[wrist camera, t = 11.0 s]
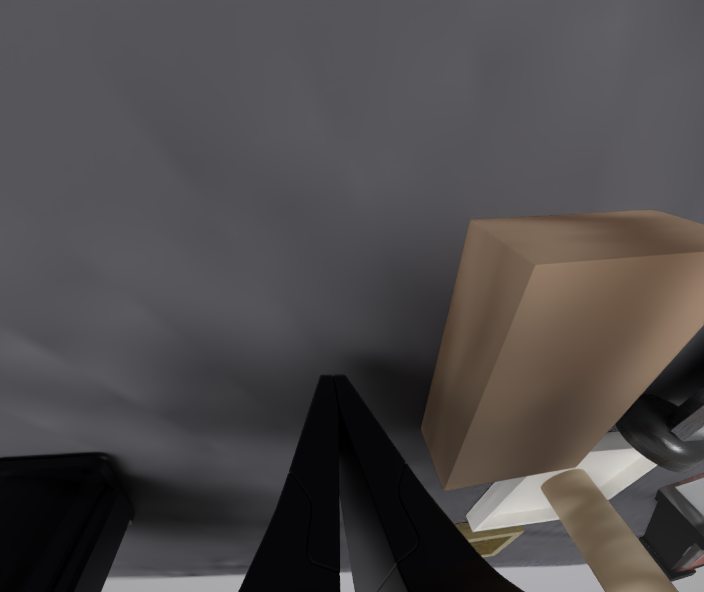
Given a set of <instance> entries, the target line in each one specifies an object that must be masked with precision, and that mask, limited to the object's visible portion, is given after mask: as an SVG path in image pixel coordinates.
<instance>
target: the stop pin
mask: <svg viewBox="0 0 704 592" xmlns="http://www.w3.org/2000/svg"><path fill="white" fill-rule="evenodd" d="M541 490H542V492H543V493H544V495H545V496H546V498H547V500H548V501H549V503H550V504H551V506H552V508H553V509H554V511H555V512H556V514H557V516H558V517H559V519H560V520H561V522H562V524H563V525H564V527H565V528H566V530H567V532H568V533H569V535H570V536H571V538H572V540H573V541H574V543H575V544H576V546H577V548H578V549H579V551H580V552H581V554H582V556H583V557H584V559H585V560H586V562H587V564H588V565H589V567H590V568H591V570H592V572H593V573H594V575H595V576H596V578H597V579H598V581H599V583H600V584H601V586H602V588H603V589H604V591H605V592H678V590H677V589H676V588H675V587H674V585H673V584H672V583H671V581H670V580H669V579H668V577H667V576H666V575H665V574H664V572H663V571H662V570H661V568H660V567H659V566H658V565H657V563H656V562H655V561H654V559H653V558H652V557H651V556H650V554H649V553H648V552H647V550H646V549H645V548H644V547H643V545H642V544H641V543H640V541H639V540H638V539H637V537H636V536H635V535H634V534H633V532H632V531H631V530H630V528H629V527H628V526H627V525H626V523H625V522H624V521H623V519H622V518H621V517H620V516H619V514H618V513H617V512H616V510H615V509H614V508H613V507H612V505H611V504H610V503H609V501H608V500H607V499H606V498H605V496H604V495H603V494H602V492H601V491H600V490H599V489H598V487H597V486H596V485H595V483H594V482H593V481H592V479H591V478H590V477H589V476H588V474H587V473H586V472H585V471H584V470H583V469H573V470H568V471H565V472H562V473H559V474H557V475H555V476H553V477H551V478H550V479H548V480H547V481H545V482H544V483H543V484H542V486H541Z"/></svg>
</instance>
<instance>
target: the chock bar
mask: <svg viewBox="0 0 704 592" xmlns="http://www.w3.org/2000/svg"><path fill="white" fill-rule="evenodd" d="M703 325H704V225H703V224H699V223H696V222H693V221H690V220H686V219H683V218H680V217H676V216H673V215H670V214H666V213H663V212H660V211H657V210H640V211H622V212H604V213H586V214H569V215H551V216H533V217H515V218H498V219H480V220H470V223H469V227H468V231H467V236H466V240H465V244H464V248H463V253H462V257H461V261H460V265H459V269H458V274H457V278H456V282H455V286H454V291H453V295H452V299H451V303H450V308H449V312H448V316H447V320H446V325H445V329H444V333H443V337H442V342H441V346H440V350H439V354H438V359H437V363H436V367H435V371H434V375H433V380H432V384H431V388H430V392H429V397H428V401H427V405H426V409H425V414H424V418H423V422H422V426H421V431H422V434H423V437H424V439H425V442H426V445H427V447H428V450H429V453H430V455H431V458H432V461H433V463H434V466H435V469H436V471H437V474H438V477H439V480H440V482H441V485H442V488H443V490H444V491H448V490H453V489H459V488H465V487H470V486H476V485H481V484H487V483H492V482H498V481H503V480H509V479H514V478H520V477H525V476H531V475H537V474H542V473H548V472H553V471H559V470H564V469H570V468H575V467H577V466H578V465H579V464H580V462H581V461H582V460H583V459H584V458H585V457H586V456H587V455H588V453H589V452H590V451H591V450H592V449H593V448H594V447H595V446H596V445H597V443H598V442H599V441H600V440H601V439H602V438H603V437H604V436H605V434H606V433H607V432H608V431H609V430H610V429H611V428H612V427H613V426H614V424H615V423H616V422H617V421H618V420H619V419H620V418H621V417H622V415H623V414H624V413H625V412H626V411H627V410H628V409H629V408H630V407H631V405H632V404H633V403H634V402H635V401H636V400H637V399H638V398H639V396H640V395H641V394H642V393H643V392H644V391H645V390H646V389H647V388H648V386H649V385H650V384H651V383H652V382H653V381H654V380H655V379H656V377H657V376H658V375H659V374H660V373H661V372H662V371H663V370H664V369H665V367H666V366H667V365H668V364H669V363H670V362H671V361H672V360H673V358H674V357H675V356H676V355H677V354H678V353H679V352H680V351H681V350H682V348H683V347H684V346H685V345H686V344H687V343H688V342H689V341H690V339H691V338H692V337H693V336H694V335H695V334H696V333H697V332H698V331H699V329H700V328H701V327H702V326H703Z"/></svg>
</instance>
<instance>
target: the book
mask: <svg viewBox="0 0 704 592" xmlns="http://www.w3.org/2000/svg"><path fill="white" fill-rule="evenodd" d="M655 499H656V500H657V501H658V503H657V505H656V508H655V510H654V513H653V515H652V517H651V520H650V522H649V525H648V527H647V529H646V532H645V534H644V536H643V537H640V538H639V541H640V543H641V544H642V545H643V547H644V548H645V549H646V550H647V552H648V553H649V554H650V556H651V557H652V558H653V559H654V561H655V562H656V563H657V565H658V566H659V567H660V568H661V570H662V571H663V572H664V574H665V575H666V576H667V577H668V579H669V580H670V581H671V582H672V581H675V580H678V579H682V578H685V577H688V576H692V575H693V574H694V573H696V571H695V569H696V568H699V567H702V566H704V473H702V474H699V475H697V476H694V477H691V478H688V479H685V480H682V481H680V482H677V483H674V484H671V485H668V486H665V487H663V488H660V489H658V492H657V494H656V497H655Z"/></svg>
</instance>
